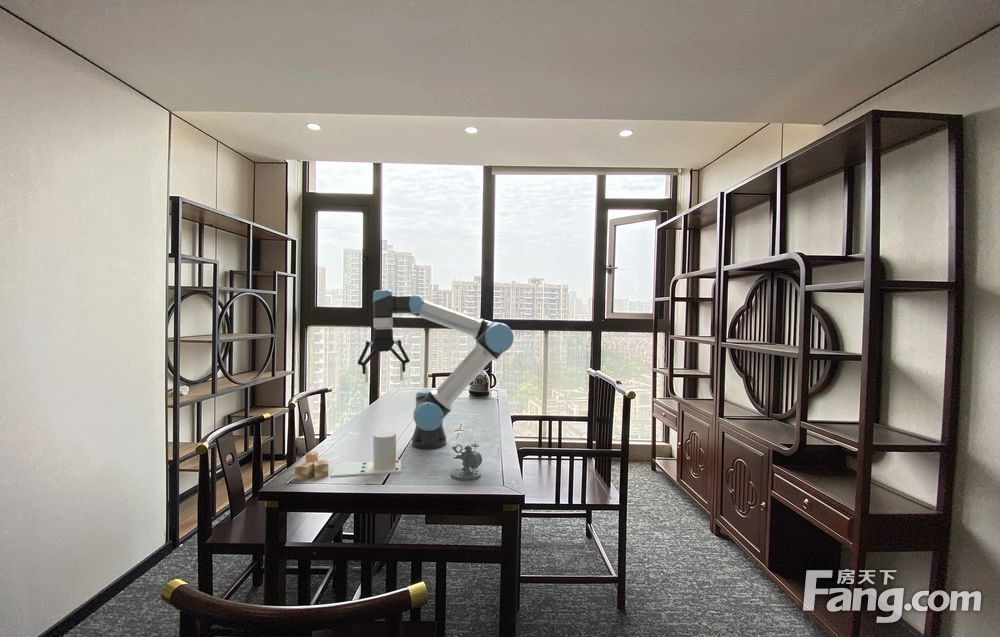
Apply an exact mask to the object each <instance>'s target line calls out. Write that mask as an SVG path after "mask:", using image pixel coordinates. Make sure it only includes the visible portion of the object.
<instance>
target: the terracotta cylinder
mask: <svg viewBox="0 0 1000 637" xmlns="http://www.w3.org/2000/svg"><path fill="white" fill-rule="evenodd" d="M304 455H305V458H304V460H305V461H304V462H310V463H314V461H319V452H318V451H308V452H306V453H305V454H304Z"/></svg>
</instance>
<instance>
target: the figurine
mask: <svg viewBox="0 0 1000 637" xmlns="http://www.w3.org/2000/svg"><path fill="white" fill-rule="evenodd" d="M457 447H460V450H457ZM473 447H474V448H477V447H480V444H477V442H474V444H473V443H472V444H471V445H466V446H465V447H464V448H463V445H462V444H456V445H455V446H452V447H451V448H452V450H453V451H454V452H455V453H456V457H455V456H454V457H453V459H456V460H458V459H459V460H462V466H463V467H458V468H455V469H453V470H452V471H451V478H452V479H453V480H456V481H461V482H471V481H476V480H478V479H480V478H481V477H482V471H481V470H480V469H479V467H480V466H481V465H482V463H483V457H482V454H480V452H478V451H475V450H473V449H472V448H473ZM459 453H460V454H459Z"/></svg>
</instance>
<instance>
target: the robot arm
mask: <svg viewBox="0 0 1000 637" xmlns="http://www.w3.org/2000/svg"><path fill="white" fill-rule="evenodd" d="M372 295H373V296H372V312H373V313H372V314H373V315H372V316H373V317H372V318H373V319H372V320H373V328H374V329H373V341H369V340H366V341H365V346H364V348H363V351H362V352H361V354H360V356H359V359H358V360H357V365H360V366H361V369H362V370H361V371H362V374H363V375H365V383H369V381H368V380H369V378H368V374H369V373H368V372H369V371H368V363H369V362H370V360H371V359H372V358H373V356H375V354H376V353H377V352H379V353H381V352H389V351H390V352H391V353H392V354H393V355H394V356H395V358H396V359H398V360H399V362H400V363H399V380H400V381H403V379H404V378H403V376H404V375H403V373H404V372H406V364H407V363H409V362H410V359H409V357H408V354H407V353H406V351H405V349H404V348H403V345H402V340H400V339H397V340H394V330H393V327H394V320H393V319H394V318H393V317H394V316H393V315H394V314H409V315H410V314H411V315H412V316H416V317H420V318H421V319H425V320H426V321H430V322H432V323H436V324H439V325H441V326H443V327H446V328H450V329H452V330H455V331H458V332H460V333H464V334H466V335H469V336H471V337H472V338H473V339H474V340H475V346H474V348H473V349H472V350H471V351H470V352H469V353H468V354H467V355H466V356H465V358H464V359H463V360H462V361H461V362H460V363H459V364H458V365H457V366H456V367H455V369H454V370H453V371H452V372H451V373H450V374H449V375H448V376H447V378H446V379H445V380H443V382H442V383H441V384H440V385H439V386H438V388H437V389H432V390H431V389H430V390H429V391H427V390H426V391H424V390H423V391H418V392H416V393H415V395H416V396H415V408H414V411H413V420H414V423H415V429H414V432H413V435H412V437H411V446H413V447H414V448H418V449H425V450H426V449H429V450H430V449H436V448H437V449H438V448H441V447H444V446H445V445H447V435H446V433H445V429H444V425H443V424H444V422H443V421H444V419H445V418H446V417H447V415H448V414H449V413H450V412H451V411H452V410H453V409H452V408H453V407H452V406H453V403H454V402H455V401H456V400H457V399H458V398H459V397H460V395H461V394H462V393H463V392H465V390H466V389H467V388H468V387H469V386H470V384H471V383H472V382H473V381H474V380H475V379H476V377H477V376H479V374H480V373H481V372H482V371H483V370H484V369H485V368H486V366H487V365H488V364H489V363H490V362H492V361H497V360H498V359H499V358H500V357H501V355H502V354H503V353H504V352H506V351H508V350H509V349H510V348H511V347H512V345H513V343H514V339H515V338H514V332H513V331H512V329H511V327H509V326H508V325H507V324H506V323H503V322H498V321H490V320H486V319H483V318H479V319H477V318H474V317H471V316H469V315H466V314H464V313H461V312H458V311H455V310H452V309H449V308H448V307H444V306H442V305H438V304H435V303H432V302H430V301H428V300H424V299H423V296H422V295H420V294H393V290H391V289H378V290H377V289H376V290H374V291H373V294H372ZM372 345H373V347H374V349H373V350H372V351H371V353H370V354H369V355H368V356H367V357H366V358H365V355H366V354H367V352H368V351H369V350H368V349H369V348H370V347H371V346H372ZM394 345H396V346H397V347H398V348H399V350H400V352H401V354H402V356H403V357H404V359H403V358H402V356H400V354H398V352H397V351H396V350H395V349H394V347H393V346H394ZM364 358H365V360H364ZM363 360H364V361H363Z"/></svg>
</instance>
